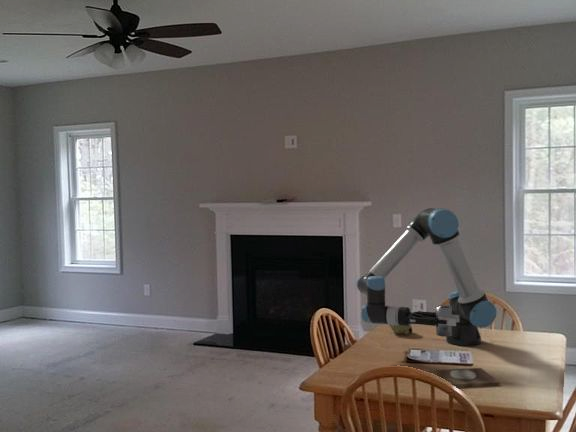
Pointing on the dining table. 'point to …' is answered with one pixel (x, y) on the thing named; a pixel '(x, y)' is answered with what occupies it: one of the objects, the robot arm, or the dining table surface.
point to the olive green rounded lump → (401, 329)
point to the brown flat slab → (467, 377)
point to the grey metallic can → (444, 312)
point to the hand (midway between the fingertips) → (457, 320)
